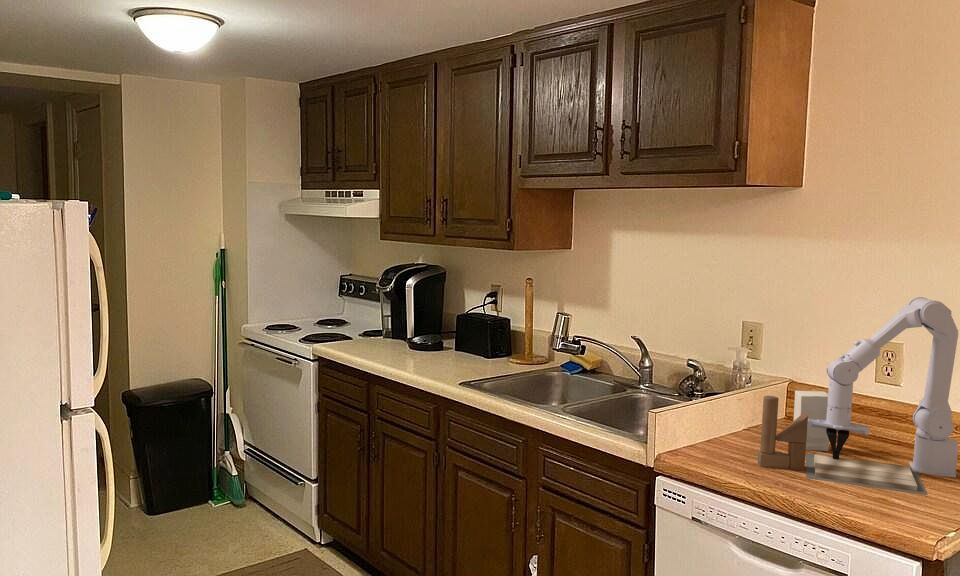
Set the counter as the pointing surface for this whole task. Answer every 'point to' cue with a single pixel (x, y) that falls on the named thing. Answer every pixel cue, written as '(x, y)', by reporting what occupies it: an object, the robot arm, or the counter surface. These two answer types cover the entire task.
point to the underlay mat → (811, 475)
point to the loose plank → (863, 464)
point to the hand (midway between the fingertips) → (835, 457)
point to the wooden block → (781, 439)
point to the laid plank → (865, 477)
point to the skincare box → (813, 417)
